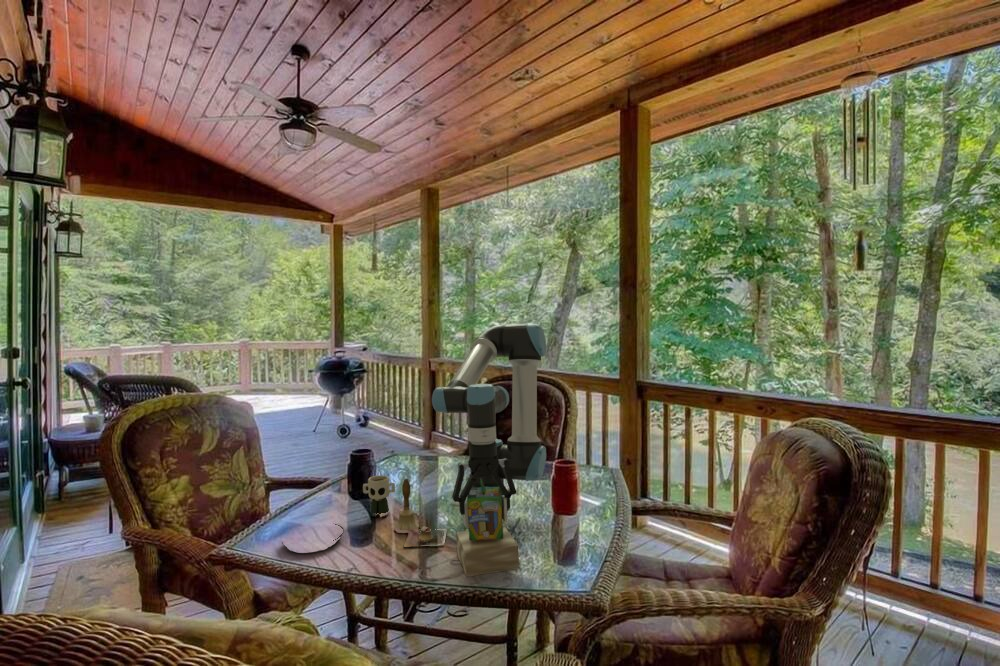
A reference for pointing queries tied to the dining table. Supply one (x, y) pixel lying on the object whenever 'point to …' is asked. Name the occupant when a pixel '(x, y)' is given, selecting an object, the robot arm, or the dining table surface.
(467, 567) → the birch block
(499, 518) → the chalk box
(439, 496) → the dining table surface
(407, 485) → the hand bell
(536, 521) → the dining table surface
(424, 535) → the dessert
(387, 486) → the character mug
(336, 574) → the dining table surface
